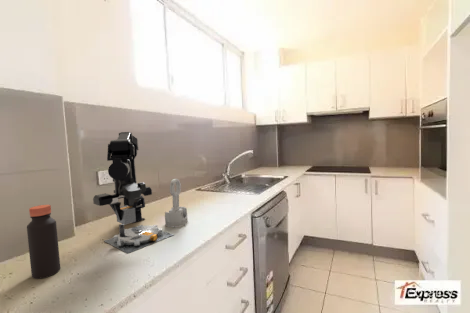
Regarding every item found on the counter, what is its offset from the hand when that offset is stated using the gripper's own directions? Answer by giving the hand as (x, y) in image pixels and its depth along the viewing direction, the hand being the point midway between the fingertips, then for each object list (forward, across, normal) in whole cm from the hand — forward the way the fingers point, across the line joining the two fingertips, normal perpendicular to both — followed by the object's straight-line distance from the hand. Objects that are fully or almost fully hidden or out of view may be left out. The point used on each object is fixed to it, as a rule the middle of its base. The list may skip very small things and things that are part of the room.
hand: (126, 218), depth 87 cm
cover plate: (+11, +7, +5) cm, 13 cm away
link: (+1, 0, 0) cm, 1 cm away
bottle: (+11, -23, +3) cm, 26 cm away
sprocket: (+11, +7, +5) cm, 13 cm away
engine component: (+11, +27, +7) cm, 30 cm away
